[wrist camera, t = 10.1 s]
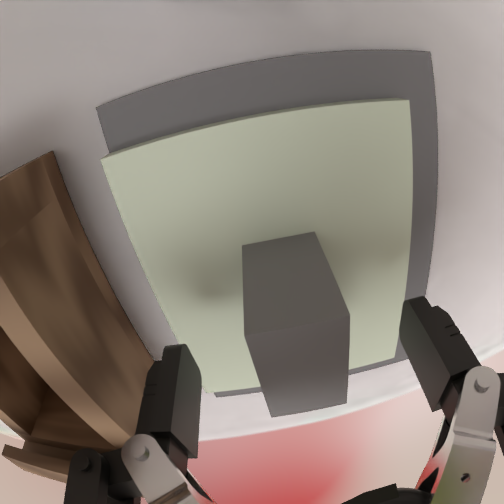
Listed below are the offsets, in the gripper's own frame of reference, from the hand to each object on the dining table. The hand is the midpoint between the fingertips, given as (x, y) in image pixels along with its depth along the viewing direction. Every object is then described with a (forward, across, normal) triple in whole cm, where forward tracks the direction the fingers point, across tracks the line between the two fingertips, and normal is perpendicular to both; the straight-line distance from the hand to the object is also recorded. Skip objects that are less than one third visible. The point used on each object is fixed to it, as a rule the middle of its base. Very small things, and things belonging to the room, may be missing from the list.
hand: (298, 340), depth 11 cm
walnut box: (+5, +15, 0) cm, 16 cm away
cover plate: (+4, 0, 0) cm, 5 cm away
